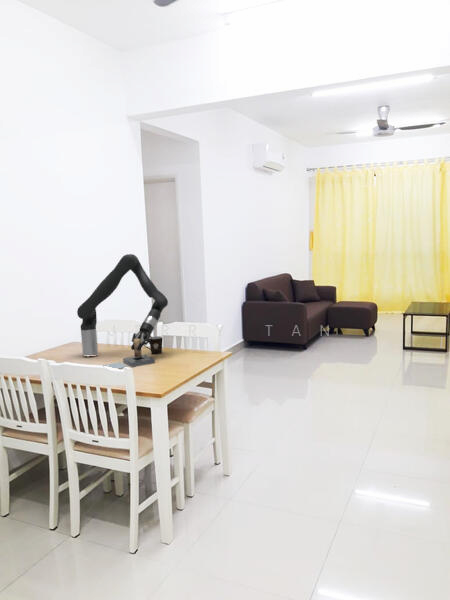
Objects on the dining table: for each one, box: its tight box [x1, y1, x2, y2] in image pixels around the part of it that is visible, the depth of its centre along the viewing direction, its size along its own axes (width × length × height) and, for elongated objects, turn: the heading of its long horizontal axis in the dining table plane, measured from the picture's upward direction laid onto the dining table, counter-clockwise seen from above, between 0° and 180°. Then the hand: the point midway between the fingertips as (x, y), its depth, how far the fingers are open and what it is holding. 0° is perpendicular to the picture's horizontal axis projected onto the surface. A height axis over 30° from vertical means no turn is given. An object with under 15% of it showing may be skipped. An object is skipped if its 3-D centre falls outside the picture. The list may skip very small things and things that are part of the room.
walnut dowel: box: [133, 339, 143, 357], centre depth 283 cm, size 4×4×10 cm
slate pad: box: [102, 361, 129, 370], centre depth 276 cm, size 14×10×1 cm
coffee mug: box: [143, 335, 163, 356], centre depth 306 cm, size 12×9×10 cm
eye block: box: [122, 354, 156, 368], centre depth 283 cm, size 14×14×2 cm
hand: (135, 349), depth 281 cm, fingers closed on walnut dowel, 4 cm apart
